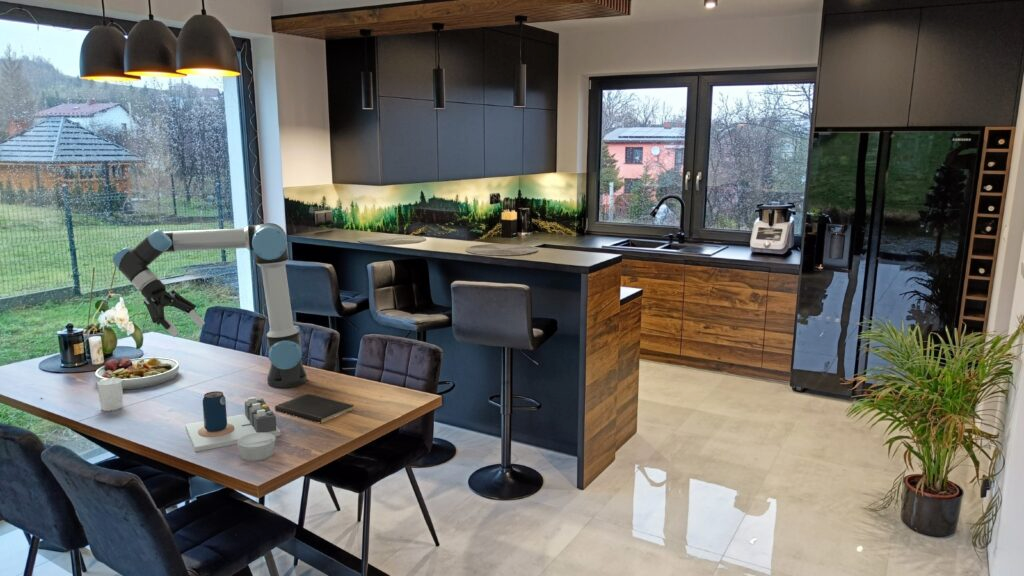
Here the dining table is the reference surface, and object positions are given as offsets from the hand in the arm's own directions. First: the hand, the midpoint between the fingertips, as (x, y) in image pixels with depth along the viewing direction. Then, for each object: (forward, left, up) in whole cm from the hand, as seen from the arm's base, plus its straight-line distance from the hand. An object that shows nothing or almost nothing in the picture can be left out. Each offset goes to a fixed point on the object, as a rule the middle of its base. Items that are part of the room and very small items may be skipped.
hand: (190, 329), depth 254 cm
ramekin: (-10, +51, -30) cm, 60 cm away
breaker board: (-7, +28, -29) cm, 41 cm away
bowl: (+15, -49, -30) cm, 59 cm away
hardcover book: (-37, +21, -30) cm, 52 cm away
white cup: (+26, -17, -30) cm, 43 cm away
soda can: (-2, +28, -28) cm, 39 cm away
